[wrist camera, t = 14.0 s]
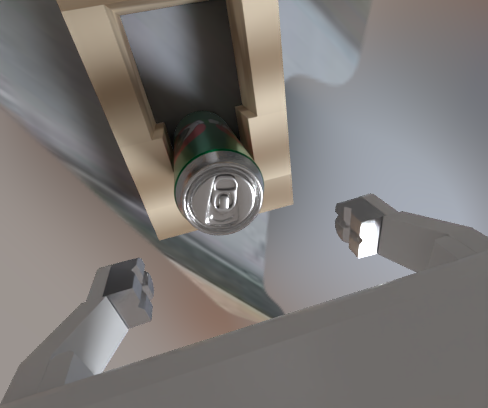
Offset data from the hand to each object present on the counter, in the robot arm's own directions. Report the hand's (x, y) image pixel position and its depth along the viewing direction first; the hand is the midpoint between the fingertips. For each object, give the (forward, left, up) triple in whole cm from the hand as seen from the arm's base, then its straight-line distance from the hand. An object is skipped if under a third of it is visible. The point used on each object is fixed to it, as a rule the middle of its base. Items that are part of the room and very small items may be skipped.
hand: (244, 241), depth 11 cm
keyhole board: (-3, 0, -16) cm, 16 cm away
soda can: (0, 0, -16) cm, 16 cm away
